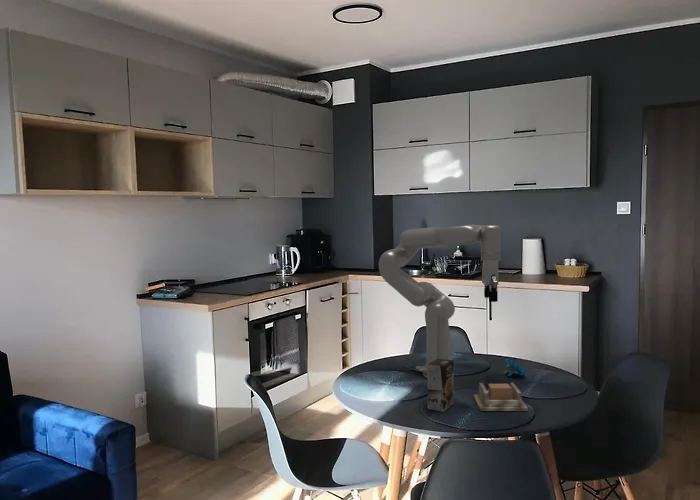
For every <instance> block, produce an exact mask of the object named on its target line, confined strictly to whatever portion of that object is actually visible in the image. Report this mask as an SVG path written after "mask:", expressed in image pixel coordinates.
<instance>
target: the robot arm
mask: <svg viewBox="0 0 700 500" xmlns="http://www.w3.org/2000/svg"><path fill="white" fill-rule="evenodd" d="M501 233H502V229H501V226H499V225H498V224H497V225H496V224H486V225H485V224H484V225H480V224H467V225H459V226H458V225H457V226H450V227H449V226H448V227H445V226H444V227H441V226H431V227H420V228H409V229H405V230H404V231H403V232H402V233H400V236H399V244H398V245H397V246H396V247H395V248H392V249H388V250H386V251H385V252H383V253H382V254H381V256H380V257H379V260H378V270H379V271H378V272H379V273H380V276H381V278H383V280H384V281H385V282H386V283H387V284H388V285H389V286H391V287H392V288H393V289H394V290H395V291H397V293H398V294H400V295H401V296H402V297H403V298H404V299H406V300H407V301H408V302H409V303H410V304H411V305H413V306H415V307H422V306H425V310H424V320H425V321H424V322H425V327H426V331H425V332H426V362H425V364H424V365H415V371H416V372H421V373H422V376H423V377H424V378H426V379H428V364H429V363H431V362H432V361H434V360H436V359H447V360H451V349H450V348H451V344H450V343H451V338H450V337H451V335H450V332H451V331H450V323H449V320H450V319H451V318H452V317H453V316H454V314H455V311H456V309H455V304H454V302H453V300H452V299H450V297H448V296H447V295H445V293H444V292H442V291H440V289H438V287H436V286H434V285H433V284H432V283H430V282H428V281H420V282H418V281H417V280H416V279H414V277H412V276H411V275H410V274H408V273H407V272H406V271H404V270H402V269H401V268H403V267H405V266H406V265H407V264H409V262H410V261H411V260H412V259H413V258H414V257H415V256H416V255H417V253H418V252H419V251H420V250H421V249H435V248H444V247H455V246H467V245H468V246H469V245H473V244H476V243H480V261H482V267H481V268H482V269H481V270H482V271H481V283H482V284H483V285H484V291H483V292H484V295H483V296H484V298H485V299H486V298H488V301H489V302H490V303H496V302H497V303H498V299H499V297H498V295H499V293H498V286H499V279H500V278H499V261H501V259H502V257H501V254H502V253H501V248H502V247H501V245H502V244H501V243H502V240H501V237H502V236H501V235H502V234H501ZM454 377H455V374H454V372H453V378H454Z"/></svg>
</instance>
